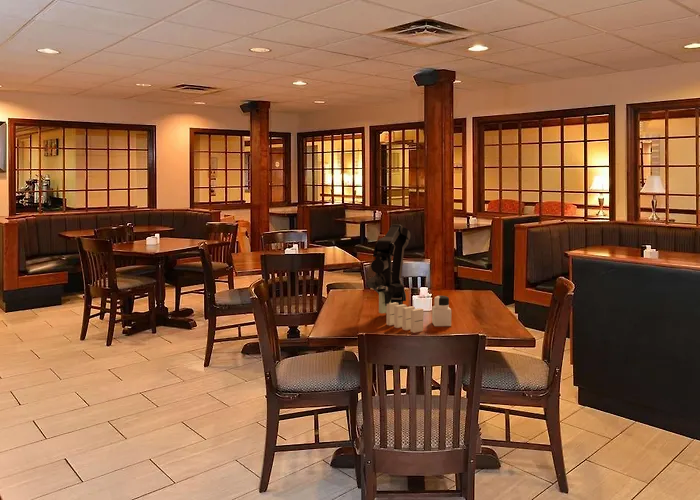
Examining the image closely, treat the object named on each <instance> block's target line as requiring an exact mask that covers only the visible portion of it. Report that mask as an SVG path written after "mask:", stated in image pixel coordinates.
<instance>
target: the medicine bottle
mask: <svg viewBox="0 0 700 500" xmlns="http://www.w3.org/2000/svg"><path fill="white" fill-rule="evenodd" d="M433 301H434V305H432V306H431V323H432V325H433V326H434V327H452V308H450V307H449V306H450V297H449V296H446V295H437V296H435V297H434V300H433Z"/></svg>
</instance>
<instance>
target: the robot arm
mask: <svg viewBox="0 0 700 500" xmlns="http://www.w3.org/2000/svg"><path fill="white" fill-rule="evenodd" d="M410 240H411V232H410V230H409V229H408V228H407V227H404V226H403V225H402V224H391V225H390V227H389V229H388V230H387V233H386V234H385V235H384V237H380V238H378V240H377V241H376V242H375V244H374V248H373V254H372V257H374V258H375V259H374V260H372V261H371V264H370V268H371V271H372V272H374V273H375V276H372V277H370V278H369V279H367V280H366V283H365V284H366V287H368V289H372V290H374V291H375V292H376V293H377V294H378V296H379V292H383V293H384V294H385V306H387V304H388V303H389V302H390V300H391V303H394V302H396V303H399V305H402V304H404V302H406V301H407V294H406V291H405V286H404V283H403V282H402V271H403V265H404V264H403V263H404V255H405V254H404V253H405V249H406V248H407V246H408V245H409V243H410V242H409V241H410Z"/></svg>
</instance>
